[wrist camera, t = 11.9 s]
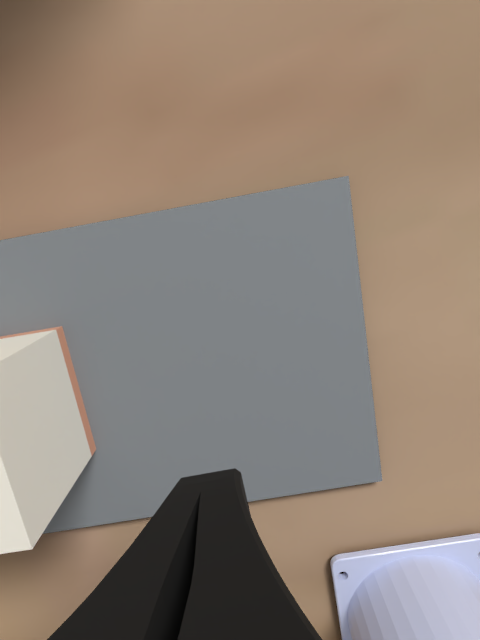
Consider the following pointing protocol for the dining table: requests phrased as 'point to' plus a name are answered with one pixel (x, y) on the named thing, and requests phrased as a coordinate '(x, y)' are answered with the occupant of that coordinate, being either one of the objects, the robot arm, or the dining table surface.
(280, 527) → the dining table surface
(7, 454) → the cube
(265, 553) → the robot arm
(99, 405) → the mat
